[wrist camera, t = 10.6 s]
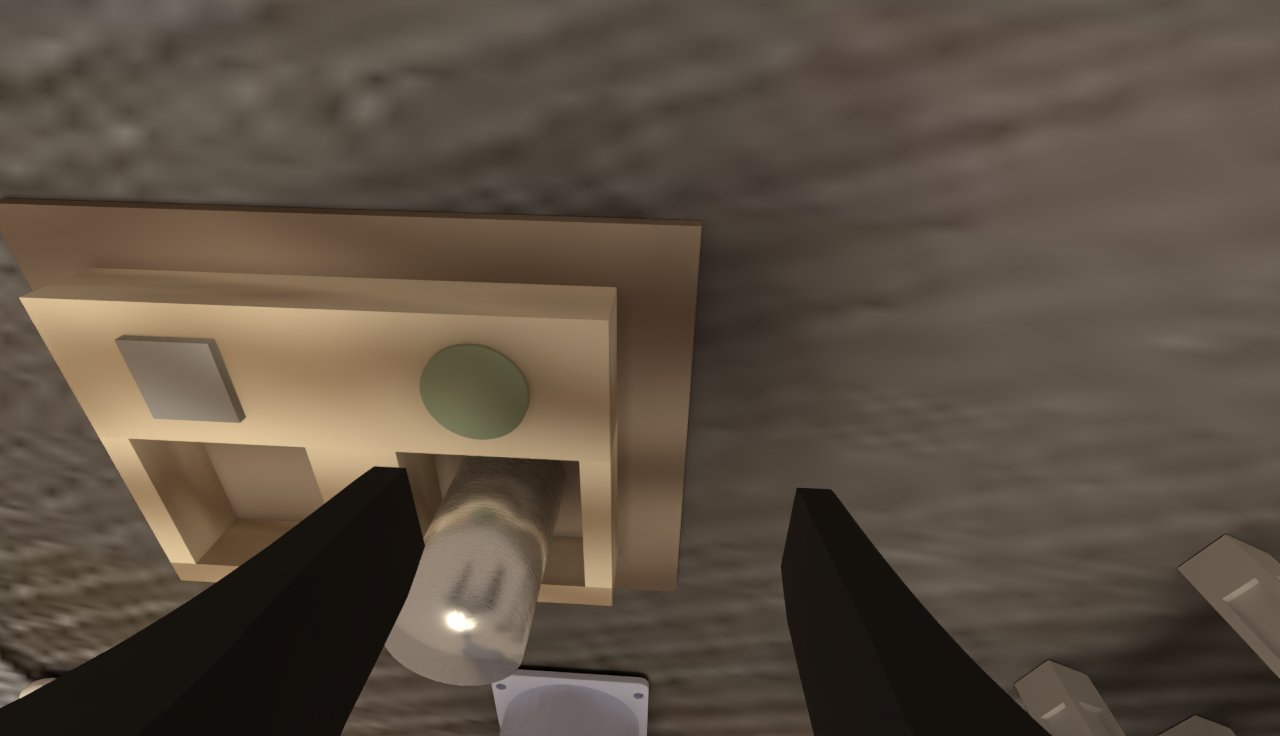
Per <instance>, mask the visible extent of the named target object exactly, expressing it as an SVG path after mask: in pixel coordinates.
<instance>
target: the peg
mask: <svg viewBox="0 0 1280 736" xmlns="http://www.w3.org/2000/svg"><path fill="white" fill-rule="evenodd" d="M565 485H566V477H565V472H564V469H563V467H562V465H561V463H560V461H559V460H550V459H530V458H510V457H490V456H470V455H465V457H464V459H463V461H462V462H461V464H460V466H459V468H458V470H457V472H456V474H455V476H454V478H453V480H452V482H451V484H450V486H449V488H448V490H447V492H446V494H445V496H444V498H443V500H442V502H441V504H440V506H439V508H438V510H437V512H436V514H435V516H434V518H433V520H432V522H431V524H430V526H429V528H428V530H427V532H426V534H425V536H424V538H423V539H424V543H425V548H424V551H423V554H422V557H421V560H420V563H419V566H418V569H417V572H416V575H415V578H414V581H413V583H412V586H411V589H410V592H409V594H408V597H407V599H406V601H405V604H404V606H403V608H402V610H401V612H400V614H399V616H398V618H397V620H396V622H395V624H394V626H393V628H392V630H391V633H390V635H389V637H388V639H387V641H386V643H385V647H386V648H387V650H388V651H389V652H390V654H391V655H392V656H393V657H394V658H395V659H396V660H397V661H398V662H400V663H401V664H402V665H403V666H405V667H406V668H408V669H410V670H411V671H413V672H415V673H417V674H419V675H421V676H423V677H426V678H428V679H431V680H434V681H438V682H442V683H446V684H452V685H460V686H480V685H487V684H491V683H495V682H498V681H501V680H503V679H505V678H507V677H509V676H510V675H512V674H513V673H514V672H515V671H516V670H517V669H518V668H519V666H520V665H521V662H522V660H523V656H524V652H525V648H526V644H527V640H528V636H529V632H530V628H531V624H532V620H533V616H534V612H535V608H536V604H537V600H538V596H539V591H540V587H541V583H542V579H543V575H544V571H545V567H546V563H547V559H548V555H549V551H550V547H551V543H552V539H553V535H554V531H555V527H556V523H557V519H558V515H559V511H560V506H561V502H562V498H563V494H564V490H565Z"/></svg>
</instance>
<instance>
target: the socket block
mask: <svg viewBox="0 0 1280 736" xmlns="http://www.w3.org/2000/svg"><path fill="white" fill-rule="evenodd" d="M701 230H702V224H701V220H670V219H639V218H607V217H576V216H545V215H513V214H482V213H451V212H419V211H388V210H357V209H325V208H294V207H263V206H231V205H200V204H169V203H137V202H106V201H75V200H43V199H12V198H3V199H0V233H1V234H2V236H3V238H4V240H5V242H6V243H7V245H8V247H9V249H10V251H11V252H12V254H13V256H14V258H15V259H16V261H17V263H18V265H19V267H20V268H21V270H22V272H23V274H24V276H25V277H26V279H27V281H28V283H29V285H30V286H31V288H32V290H33V292H31V293H29V294H26V295H24V296H21V297H19V298H20V300H21V302H22V304H23V305H24V307H25V309H26V311H27V312H28V314H29V316H30V318H31V319H32V321H33V323H34V325H35V326H36V328H37V330H38V331H39V333H40V335H41V337H42V338H43V340H44V342H45V344H46V345H47V347H48V349H49V351H50V352H51V354H52V356H53V358H54V359H55V361H56V363H57V365H58V366H59V368H60V370H61V372H62V373H63V375H64V377H65V379H66V380H67V382H68V384H69V386H70V387H71V389H72V391H73V393H74V394H75V396H76V398H77V400H78V401H79V403H80V405H81V407H82V408H83V410H84V412H85V414H86V415H87V417H88V419H89V420H90V422H91V424H92V426H93V427H94V429H95V431H96V433H97V434H98V436H99V438H100V440H101V441H102V443H103V445H104V447H105V448H106V450H107V452H108V454H109V455H110V457H111V459H112V461H113V462H114V464H115V466H116V468H117V469H118V471H119V473H120V475H121V476H122V478H123V480H124V482H125V483H126V485H127V487H128V489H129V490H130V492H131V494H132V496H133V497H134V499H135V501H136V503H137V504H138V506H139V508H140V509H141V511H142V513H143V515H144V516H145V518H146V520H147V522H148V523H149V525H150V527H151V529H152V530H153V532H154V534H155V536H156V537H157V539H158V541H159V543H160V544H161V546H162V548H163V550H164V551H165V553H166V555H167V557H168V558H169V560H170V562H171V564H172V565H173V567H174V569H175V571H176V572H177V574H178V576H179V578H180V579H181V580H188V581H205V582H218V581H219V580H221V579H222V578H223V577H225V576H226V575H228V574H229V573H230V572H232V571H233V570H235V569H236V568H238V567H239V566H240V565H242V564H243V563H245V562H246V561H248V560H249V559H250V558H252V557H253V556H255V555H256V554H258V553H259V552H260V551H262V550H263V549H265V548H266V547H268V546H269V545H270V544H272V543H273V542H274V541H276V540H277V539H278V538H280V537H281V536H282V535H284V534H285V533H286V532H288V531H289V530H290V529H292V528H293V527H294V526H296V525H297V524H298V523H300V522H301V521H302V520H304V519H305V518H306V517H307V516H309V515H310V514H311V513H313V512H314V511H315V510H317V509H318V508H319V507H321V506H322V505H323V504H324V503H326V502H327V501H328V500H330V499H331V498H332V497H334V496H335V495H336V494H337V493H339V492H340V491H341V490H343V489H344V488H345V487H347V486H348V485H349V484H351V483H352V482H353V481H354V480H356V479H357V478H358V477H360V476H361V475H363V474H364V473H365V472H367V471H368V470H370V469H371V468H372V467H374V466H379V467H399V468H406V470H407V474H408V478H409V482H410V486H411V490H412V494H413V498H414V502H415V507H416V511H417V515H418V519H419V523H420V527H421V531H422V535H423V538H424V536H425V534H426V532H427V530H428V528H429V526H430V524H431V522H432V520H433V518H434V516H435V514H436V512H437V510H438V508H439V506H440V504H441V502H442V500H443V498H444V496H445V494H446V492H447V490H448V488H449V486H450V484H451V482H452V480H453V478H454V476H455V474H456V472H457V470H458V468H459V466H460V464H461V462H462V461H463V459H464V457H465V455H470V456H490V457H510V458H530V459H550V460H559V461H560V463H561V465H562V467H563V469H564V472H565V477H566V485H565V490H564V494H563V498H562V502H561V506H560V511H559V515H558V519H557V523H556V527H555V531H554V535H553V539H552V543H551V547H550V551H549V555H548V559H547V563H546V567H545V571H544V575H543V579H542V583H541V587H540V591H539V596H538V600H537V602H554V603H571V604H587V605H604V606H612V604H613V595H614V588H618V589H635V590H652V591H669V592H676V582H677V568H678V554H679V540H680V526H681V512H682V497H683V483H684V469H685V455H686V441H687V427H688V413H689V399H690V385H691V371H692V357H693V343H694V328H695V314H696V300H697V286H698V272H699V258H700V244H701Z"/></svg>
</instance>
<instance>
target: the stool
mask: <svg viewBox="0 0 1280 736" xmlns="http://www.w3.org/2000/svg"><path fill="white" fill-rule="evenodd" d="M1177 569H1178V570H1179V571H1180V572H1181V573H1182V574H1183V575H1184V576H1185V577H1186V578H1187V579H1188V581H1189V582H1190V583H1191V584H1192V585H1193V586H1194V587H1195V588H1196V589H1197V590H1198V591H1199V592H1200V593H1201V594H1202V596H1203V597H1204V598H1205V599H1206V600H1207V601H1208V602H1209V603H1210V604H1211V605H1212V606H1213V607H1214V608H1215V610H1216V611H1217V612H1218V613H1219V614H1220V615H1221V616H1222V617H1223V618H1224V619H1225V620H1226V621H1227V622H1228V624H1229V625H1230V626H1231V627H1232V628H1233V629H1234V630H1235V631H1236V632H1237V633H1238V634H1239V635H1240V636H1241V637H1242V639H1243V640H1244V641H1245V642H1246V643H1247V644H1248V645H1249V646H1250V647H1251V648H1252V649H1253V650H1254V651H1255V653H1256V654H1257V655H1258V656H1259V657H1260V658H1261V659H1262V660H1263V661H1264V662H1265V663H1266V664H1267V665H1268V667H1269V668H1270V669H1271V670H1272V671H1273V672H1274V673H1275V674H1276V675H1277V676H1278V677H1279V678H1280V563H1279V562H1278V561H1277V560H1275V559H1274V558H1273V557H1272V556H1271V555H1270V554H1268V553H1266V552H1264V551H1262V550H1259V549H1257V548H1255V547H1253V546H1251V545H1248V544H1246V543H1244V542H1242V541H1240V540H1237V539H1235V538H1233V537H1231V536H1229V535H1226V534H1225V535H1224V536H1222V537H1221V538H1220V539H1218V540H1217V541H1215V542H1214V543H1212V544H1211V545H1210V546H1208V547H1207V548H1205V549H1204V550H1202V551H1201V552H1200V553H1198V554H1197V555H1195V556H1194V557H1193V558H1191V559H1190V560H1188V561H1187V562H1185V563H1184V564H1183V565H1181V566H1180V567H1178V568H1177ZM1014 685H1015V687H1016V689H1017V691H1018V693H1019V694H1020V696H1021V698H1022V700H1023V702H1024V704H1025V706H1026V708H1027V710H1028V712H1029V714H1030V716H1031V717H1032V718H1033V719H1035V720H1036V721H1037V722H1038V723H1039V724H1040V725H1041V726H1042V727H1043V728H1044V729H1045V730H1047V731H1048V732H1049V733H1050V734H1051V735H1052V736H1126V735H1125V734H1124V732H1123V731H1122V729H1121V727H1120V726H1119V724H1118V723H1117V721H1116V720H1115V718H1114V716H1113V715H1112V713H1111V712H1110V710H1109V709H1108V707H1107V705H1106V704H1105V702H1104V701H1103V699H1102V698H1101V696H1100V694H1099V693H1098V691H1097V690H1096V688H1095V687H1094V685H1093V683H1092V682H1091V680H1090V679H1089V677H1088V676H1087V675H1086V674H1084V673H1081V672H1079V671H1076V670H1073V669H1071V668H1068V667H1065V666H1063V665H1060V664H1058V663H1055V662H1052V661H1050V660H1047V661H1046V662H1045V663H1043V664H1042V665H1040V666H1039V667H1037V668H1036V669H1035V670H1033V671H1032V672H1030V673H1029V674H1027V675H1026V676H1025V677H1023V678H1022V679H1020V680H1019V681H1018V682H1016V683H1015V684H1014ZM1158 736H1236V735H1235V734H1234V733H1233V731H1232V730H1231V729H1230V728H1228V727H1225V726H1223V725H1220V724H1217V723H1215V722H1212V721H1209V720H1207V719H1204V718H1202V717H1199V716H1196V715H1195V716H1193V717H1191V718H1189V719H1187V720H1185V721H1184V722H1182V723H1180V724H1178V725H1176V726H1175V727H1173V728H1171V729H1169V730H1167V731H1166V732H1164V733H1162V734H1160V735H1158Z"/></svg>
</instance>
